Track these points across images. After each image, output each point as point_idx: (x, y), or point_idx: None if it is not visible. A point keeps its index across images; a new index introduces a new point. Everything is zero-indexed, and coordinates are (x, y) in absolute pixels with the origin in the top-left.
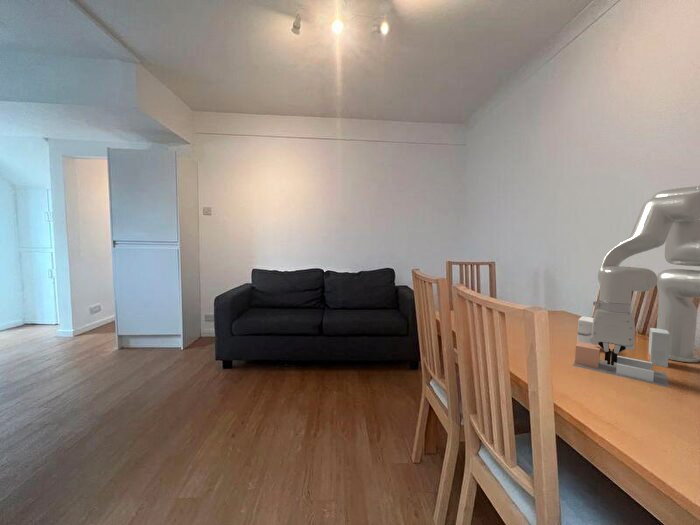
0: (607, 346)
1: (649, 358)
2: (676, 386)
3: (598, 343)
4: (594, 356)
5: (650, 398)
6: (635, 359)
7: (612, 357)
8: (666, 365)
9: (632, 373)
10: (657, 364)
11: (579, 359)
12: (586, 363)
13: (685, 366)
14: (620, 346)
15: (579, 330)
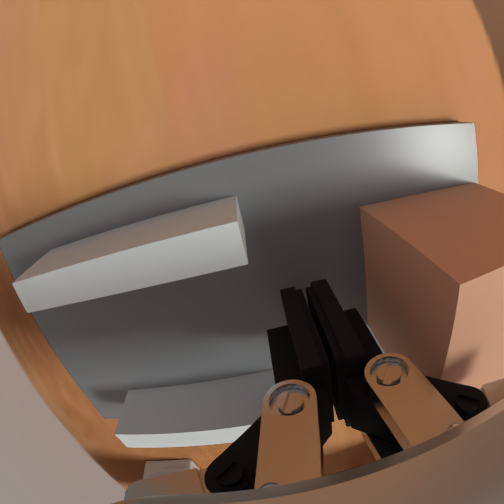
0: (400, 412)
1: None
2: (31, 325)
3: (482, 396)
4: (439, 233)
5: (30, 24)
6: (194, 442)
7: (306, 330)
8: (145, 474)
9: (129, 232)
10: (169, 472)
11: (480, 196)
12: (434, 197)
13: None
14: (256, 481)
15: None
